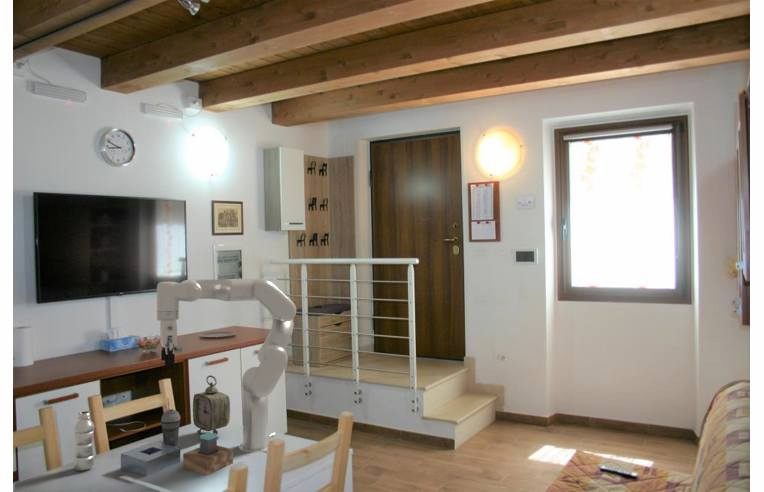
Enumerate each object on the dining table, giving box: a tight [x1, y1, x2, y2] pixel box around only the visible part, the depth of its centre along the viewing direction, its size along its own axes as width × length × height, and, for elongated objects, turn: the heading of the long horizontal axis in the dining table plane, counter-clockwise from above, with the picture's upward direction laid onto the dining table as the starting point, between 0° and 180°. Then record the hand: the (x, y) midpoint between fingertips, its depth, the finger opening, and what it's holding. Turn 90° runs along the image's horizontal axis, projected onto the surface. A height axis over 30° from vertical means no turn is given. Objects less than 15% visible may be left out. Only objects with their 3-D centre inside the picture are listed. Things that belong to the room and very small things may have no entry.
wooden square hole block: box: [182, 445, 234, 476], centre depth 200 cm, size 12×12×6 cm
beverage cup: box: [160, 397, 182, 448], centre depth 217 cm, size 7×7×20 cm
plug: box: [199, 431, 218, 456], centre depth 200 cm, size 4×4×11 cm
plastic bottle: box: [73, 411, 95, 472], centre depth 198 cm, size 6×7×20 cm
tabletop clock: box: [192, 374, 231, 435], centre depth 234 cm, size 14×9×25 cm, turn 50°
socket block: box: [120, 441, 181, 477], centre depth 200 cm, size 14×14×6 cm
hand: (167, 362), depth 205 cm, fingers open, 9 cm apart
